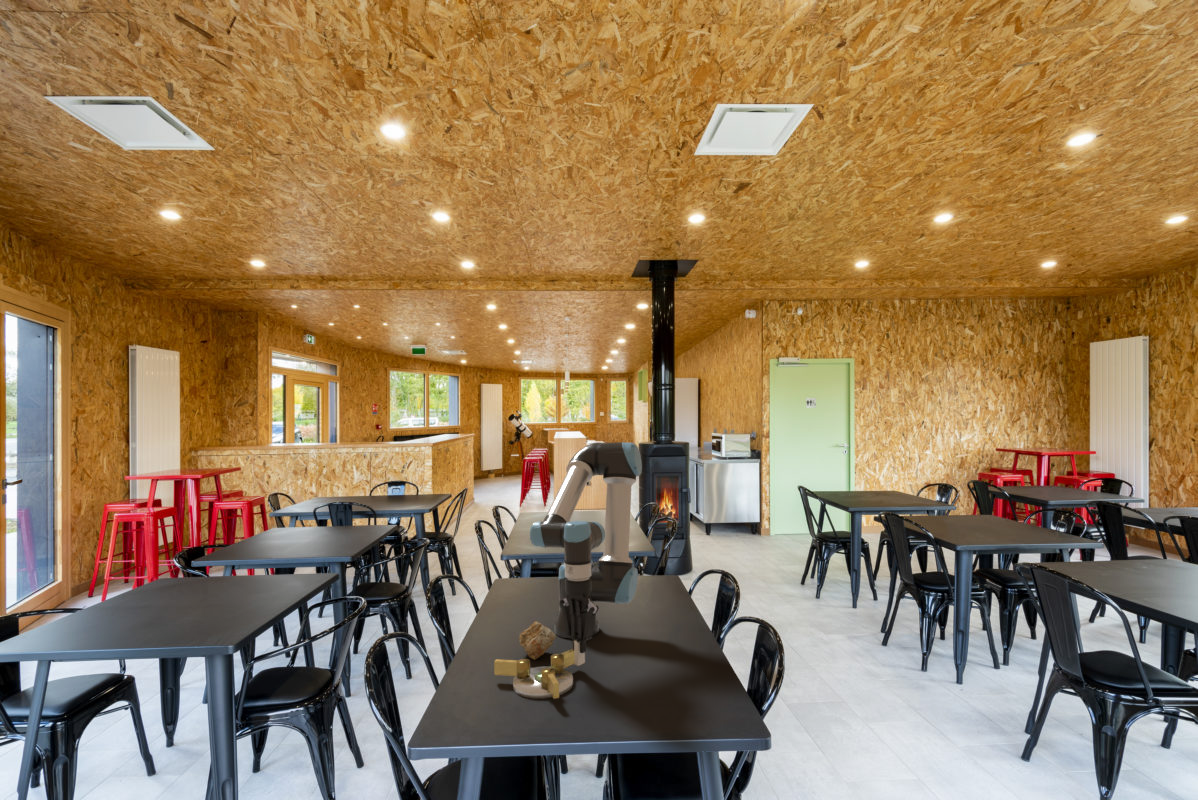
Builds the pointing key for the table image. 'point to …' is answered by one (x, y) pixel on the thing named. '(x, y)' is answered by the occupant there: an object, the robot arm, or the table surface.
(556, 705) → the table surface
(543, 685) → the knob
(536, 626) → the rock
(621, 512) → the robot arm
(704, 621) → the table surface
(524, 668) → the knob
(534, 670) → the tribrach plate
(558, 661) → the knob
